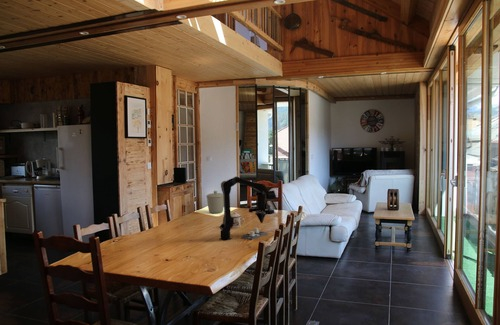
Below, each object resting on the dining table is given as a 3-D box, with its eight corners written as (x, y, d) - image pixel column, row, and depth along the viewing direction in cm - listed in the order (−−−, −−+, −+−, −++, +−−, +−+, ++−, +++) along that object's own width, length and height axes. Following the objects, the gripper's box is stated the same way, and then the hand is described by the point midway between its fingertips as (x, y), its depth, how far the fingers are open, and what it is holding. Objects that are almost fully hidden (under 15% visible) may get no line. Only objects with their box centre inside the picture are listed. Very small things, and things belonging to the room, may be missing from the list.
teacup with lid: (228, 228, 298) (228, 213, 297) (230, 225, 307) (230, 211, 306) (243, 228, 296) (243, 213, 296) (245, 225, 305) (245, 211, 305)
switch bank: (251, 239, 260) (251, 237, 260) (241, 238, 265) (241, 235, 265) (267, 234, 274) (267, 231, 274) (257, 233, 279) (257, 230, 279)
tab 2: (256, 233, 273) (256, 228, 272) (253, 232, 274) (253, 228, 274) (259, 232, 275) (259, 228, 275) (256, 232, 277) (255, 227, 277)
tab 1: (252, 237, 262) (252, 232, 262) (249, 236, 264) (249, 231, 264) (255, 236, 265) (255, 231, 264) (252, 235, 266) (251, 230, 266)
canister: (218, 210, 380) (217, 189, 379) (229, 212, 366) (228, 190, 365) (202, 212, 368) (202, 190, 367) (213, 215, 354) (212, 192, 353)
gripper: (278, 200, 271) (279, 222, 272) (257, 198, 283) (257, 219, 284) (269, 202, 263) (270, 225, 263) (247, 200, 274) (248, 222, 275)
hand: (261, 223), depth 272 cm, fingers closed
